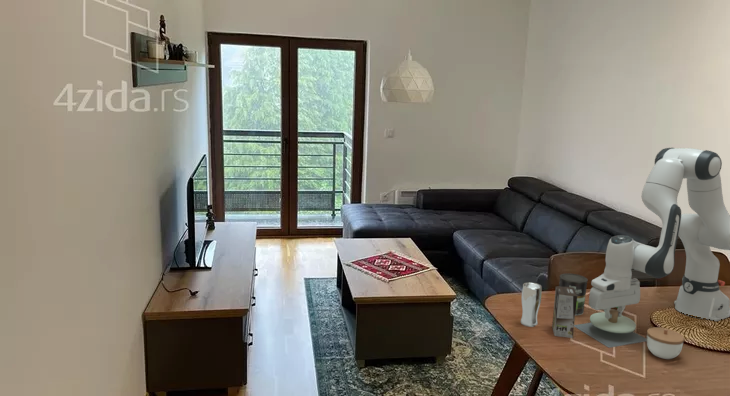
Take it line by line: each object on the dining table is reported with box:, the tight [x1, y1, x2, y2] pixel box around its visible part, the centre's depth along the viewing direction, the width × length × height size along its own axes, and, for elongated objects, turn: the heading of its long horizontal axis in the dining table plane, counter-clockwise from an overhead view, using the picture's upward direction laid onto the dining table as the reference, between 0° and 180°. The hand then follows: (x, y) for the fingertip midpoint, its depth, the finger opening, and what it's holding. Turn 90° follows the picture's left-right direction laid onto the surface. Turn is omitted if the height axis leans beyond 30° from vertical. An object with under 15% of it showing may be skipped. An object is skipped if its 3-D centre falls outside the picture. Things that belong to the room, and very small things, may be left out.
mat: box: [574, 322, 647, 349], centre depth 191 cm, size 18×18×1 cm
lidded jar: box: [646, 326, 685, 360], centre depth 175 cm, size 11×11×9 cm
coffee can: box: [558, 273, 589, 316], centre depth 209 cm, size 10×10×14 cm
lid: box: [589, 309, 637, 333], centre depth 190 cm, size 15×15×5 cm
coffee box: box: [551, 285, 578, 339], centre depth 190 cm, size 9×6×16 cm
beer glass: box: [520, 282, 543, 328], centre depth 197 cm, size 7×7×15 cm
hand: (613, 317), depth 190 cm, fingers closed on lid, 3 cm apart
